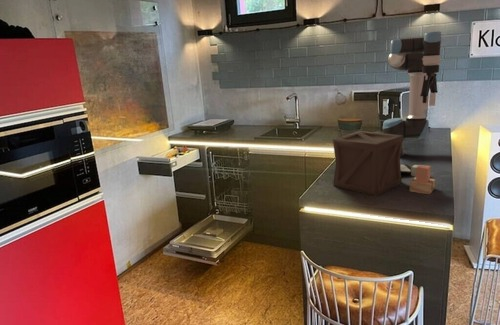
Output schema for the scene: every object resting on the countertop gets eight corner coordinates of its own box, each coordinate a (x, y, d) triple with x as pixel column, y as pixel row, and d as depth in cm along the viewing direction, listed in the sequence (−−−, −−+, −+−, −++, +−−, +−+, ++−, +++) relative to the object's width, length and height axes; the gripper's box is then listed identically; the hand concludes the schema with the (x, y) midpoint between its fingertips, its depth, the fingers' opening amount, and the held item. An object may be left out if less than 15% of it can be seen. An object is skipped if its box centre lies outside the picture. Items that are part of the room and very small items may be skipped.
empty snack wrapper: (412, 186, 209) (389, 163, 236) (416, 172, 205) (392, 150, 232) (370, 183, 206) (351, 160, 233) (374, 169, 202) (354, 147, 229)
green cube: (413, 173, 210) (414, 164, 208) (423, 174, 207) (424, 165, 205) (411, 175, 206) (411, 167, 204) (421, 177, 203) (421, 168, 202)
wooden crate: (359, 174, 215) (358, 130, 208) (402, 182, 197) (403, 134, 190) (333, 186, 199) (332, 139, 192) (377, 196, 181) (378, 144, 174)
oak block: (415, 186, 191) (415, 176, 190) (434, 189, 185) (435, 179, 184) (409, 191, 184) (410, 182, 183) (429, 194, 179) (430, 184, 177)
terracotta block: (419, 178, 187) (419, 164, 185) (429, 180, 184) (430, 166, 182) (415, 181, 183) (416, 167, 181) (426, 182, 180) (427, 168, 178)
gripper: (429, 63, 200) (427, 103, 206) (415, 66, 182) (413, 110, 187) (445, 62, 195) (442, 104, 201) (432, 65, 177) (429, 111, 183)
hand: (428, 107), depth 194 cm, fingers open, 13 cm apart
